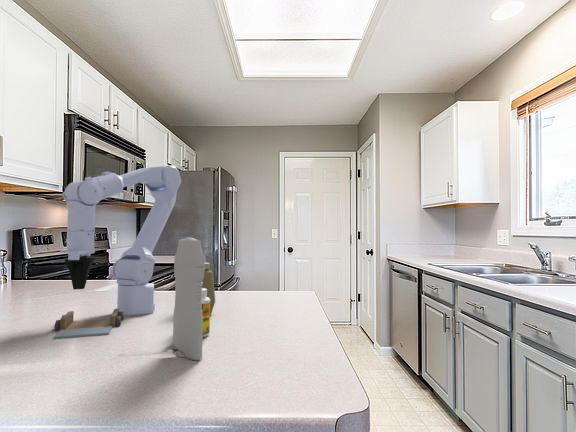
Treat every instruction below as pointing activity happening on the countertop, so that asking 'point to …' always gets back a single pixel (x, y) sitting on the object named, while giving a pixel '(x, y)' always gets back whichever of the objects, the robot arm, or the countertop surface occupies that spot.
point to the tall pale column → (188, 299)
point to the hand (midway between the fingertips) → (79, 288)
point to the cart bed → (68, 323)
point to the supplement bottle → (205, 313)
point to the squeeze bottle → (209, 283)
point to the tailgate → (83, 332)
